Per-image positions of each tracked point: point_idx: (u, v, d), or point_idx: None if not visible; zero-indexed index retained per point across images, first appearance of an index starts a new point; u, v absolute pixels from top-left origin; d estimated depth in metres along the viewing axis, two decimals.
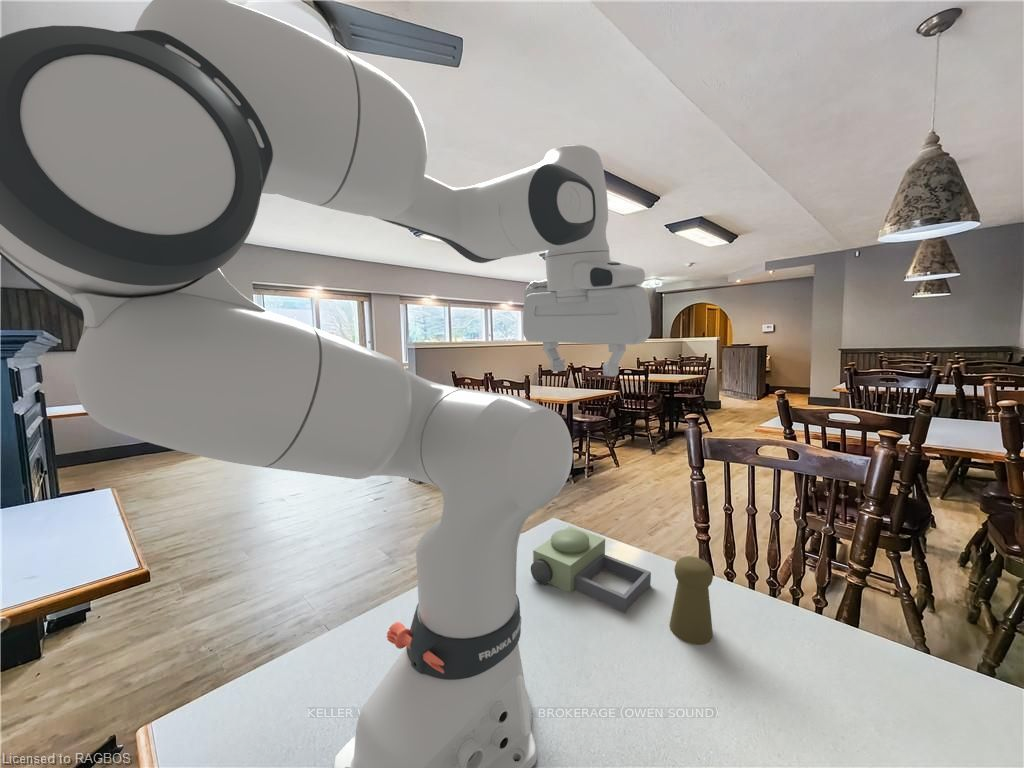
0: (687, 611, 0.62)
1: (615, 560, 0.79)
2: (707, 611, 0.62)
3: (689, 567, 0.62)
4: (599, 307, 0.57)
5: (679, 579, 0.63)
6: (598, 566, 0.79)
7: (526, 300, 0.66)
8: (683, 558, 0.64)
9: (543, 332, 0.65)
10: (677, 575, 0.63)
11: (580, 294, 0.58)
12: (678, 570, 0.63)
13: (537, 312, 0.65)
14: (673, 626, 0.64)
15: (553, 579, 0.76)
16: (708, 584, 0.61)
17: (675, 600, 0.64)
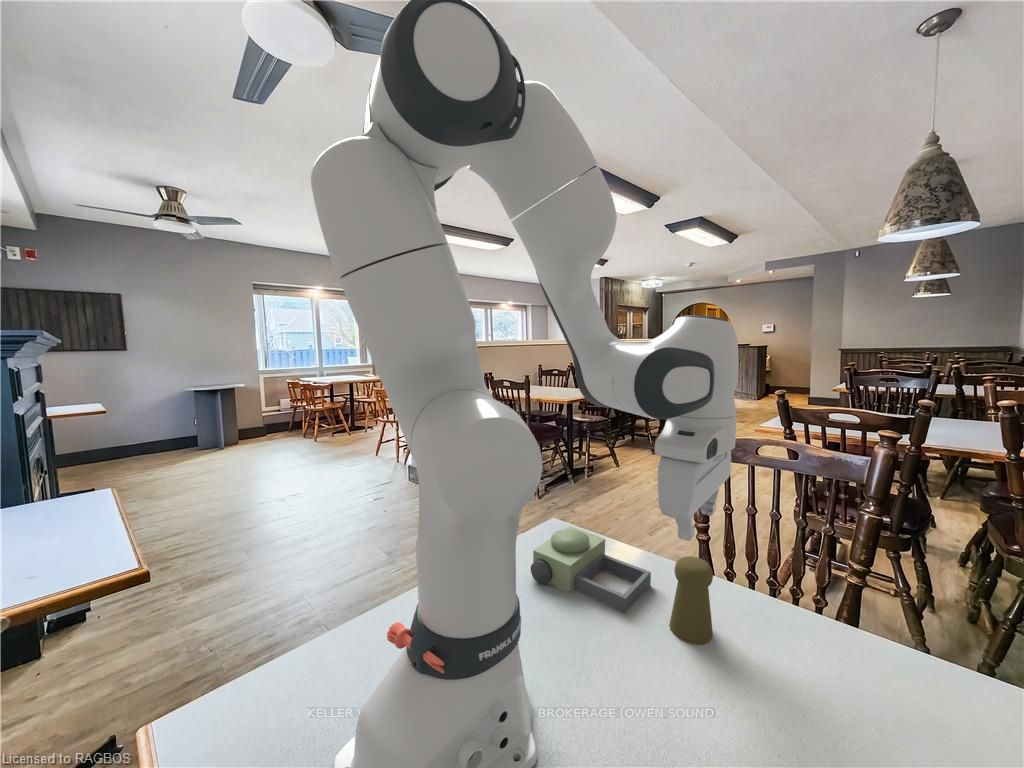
0: (687, 611, 0.62)
1: (615, 560, 0.79)
2: (707, 611, 0.62)
3: (689, 567, 0.62)
4: None
5: (679, 579, 0.63)
6: (598, 566, 0.79)
7: None
8: (683, 558, 0.64)
9: None
10: (677, 575, 0.63)
11: None
12: (678, 570, 0.63)
13: None
14: (673, 626, 0.64)
15: (553, 579, 0.76)
16: (708, 584, 0.61)
17: (675, 600, 0.64)
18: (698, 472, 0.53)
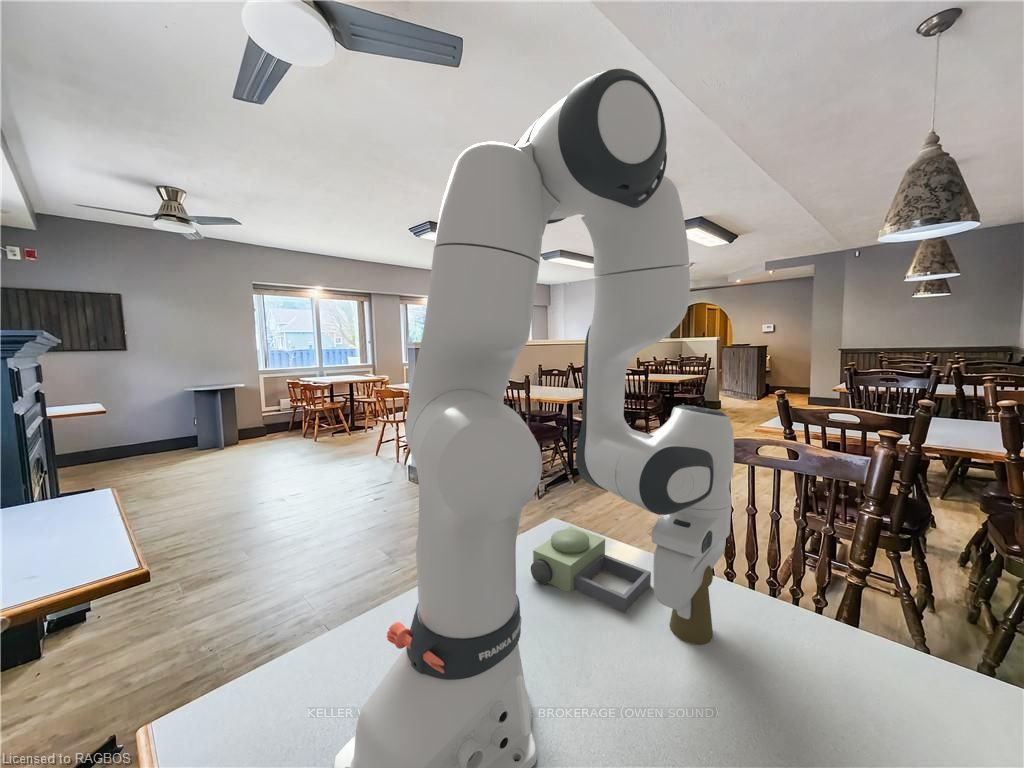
0: None
1: (615, 560, 0.79)
2: (708, 611, 0.62)
3: None
4: None
5: None
6: (598, 566, 0.79)
7: None
8: None
9: None
10: None
11: None
12: None
13: None
14: (673, 626, 0.64)
15: (553, 579, 0.76)
16: (708, 584, 0.61)
17: None
18: (693, 566, 0.55)
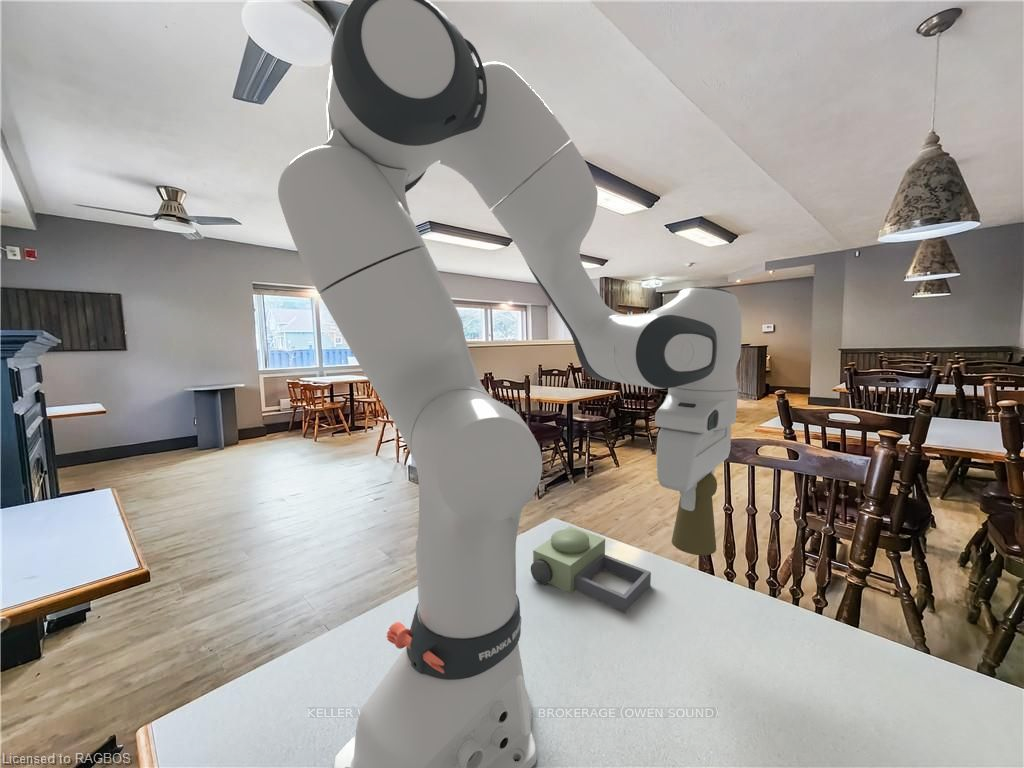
0: (691, 521, 0.60)
1: (615, 560, 0.79)
2: (712, 521, 0.60)
3: None
4: None
5: None
6: (598, 566, 0.79)
7: None
8: None
9: None
10: None
11: None
12: None
13: None
14: (676, 540, 0.62)
15: (553, 579, 0.76)
16: (713, 492, 0.59)
17: (678, 513, 0.62)
18: (698, 442, 0.52)
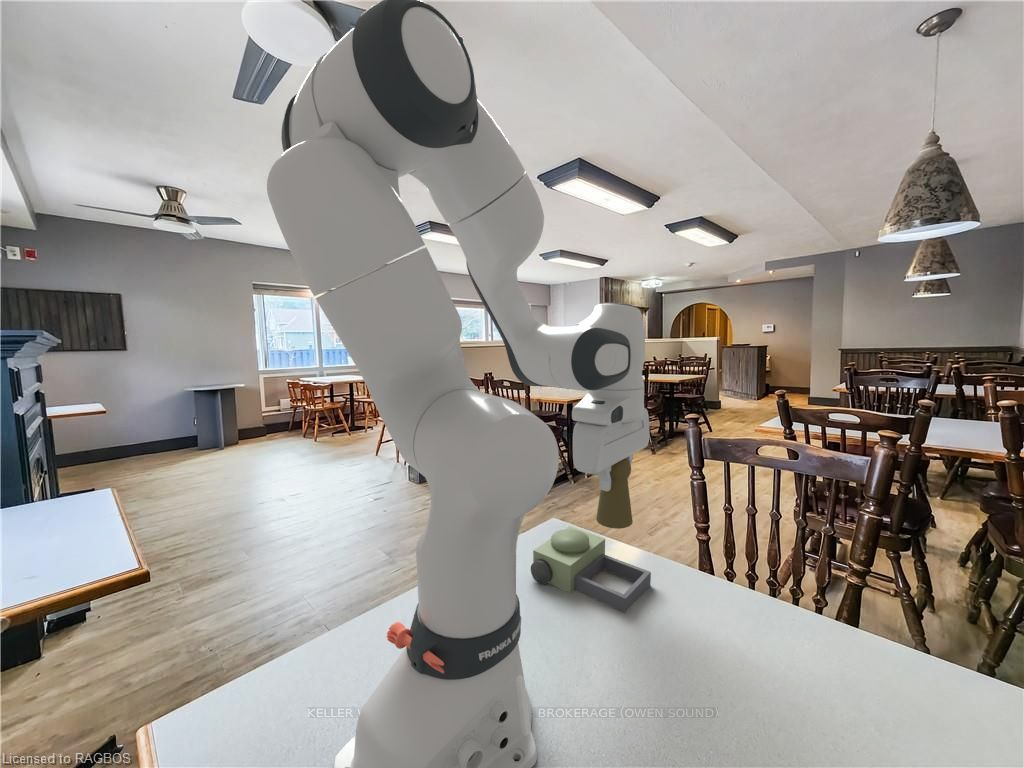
0: (609, 500, 0.71)
1: (615, 560, 0.79)
2: (627, 500, 0.71)
3: None
4: None
5: None
6: (598, 566, 0.79)
7: None
8: None
9: None
10: None
11: None
12: None
13: None
14: (598, 516, 0.73)
15: (553, 579, 0.76)
16: (626, 475, 0.70)
17: (600, 494, 0.73)
18: (603, 433, 0.63)
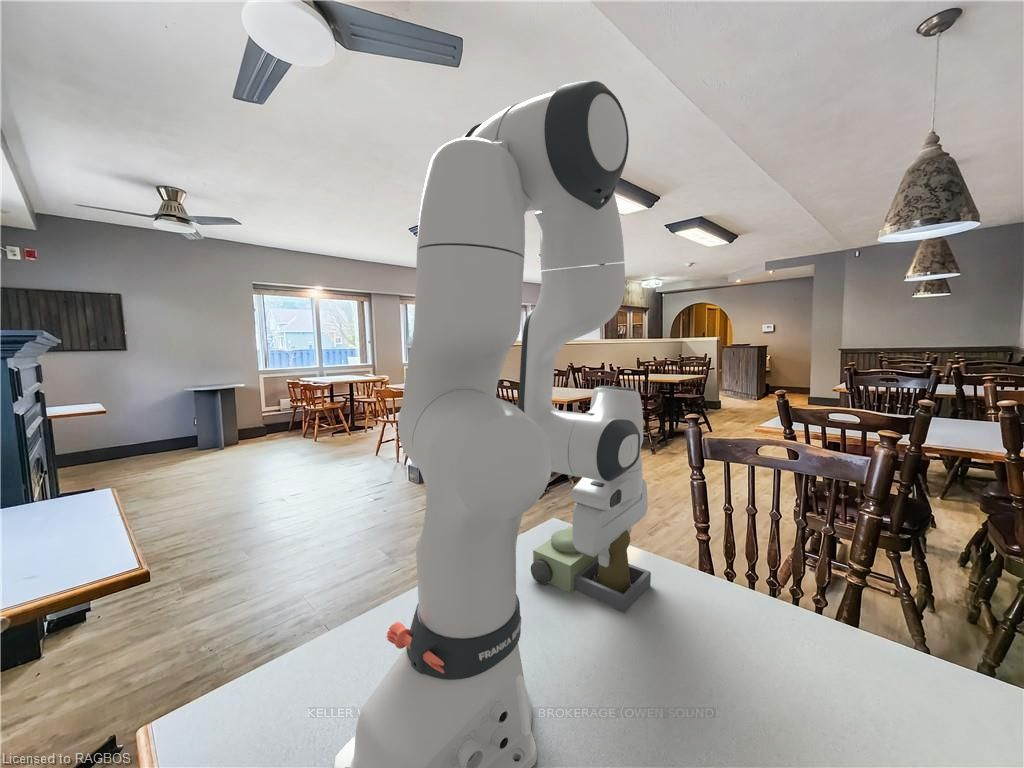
0: (608, 570, 0.73)
1: None
2: (626, 570, 0.73)
3: None
4: None
5: None
6: (598, 566, 0.79)
7: None
8: None
9: None
10: None
11: None
12: None
13: None
14: None
15: (553, 579, 0.76)
16: (625, 546, 0.72)
17: None
18: (602, 518, 0.65)
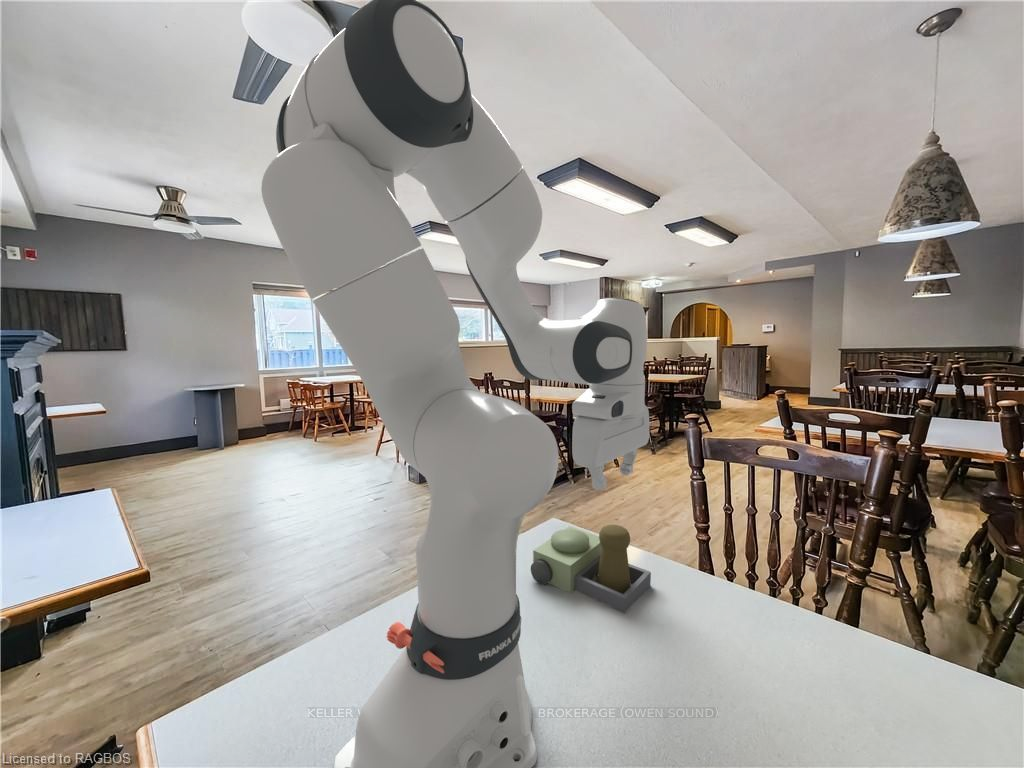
0: (608, 570, 0.73)
1: None
2: (626, 570, 0.73)
3: (609, 533, 0.72)
4: None
5: (602, 543, 0.73)
6: (598, 566, 0.79)
7: None
8: (606, 526, 0.75)
9: None
10: (600, 540, 0.73)
11: None
12: (601, 535, 0.73)
13: None
14: None
15: (553, 579, 0.76)
16: (625, 546, 0.72)
17: (600, 562, 0.75)
18: (603, 427, 0.63)
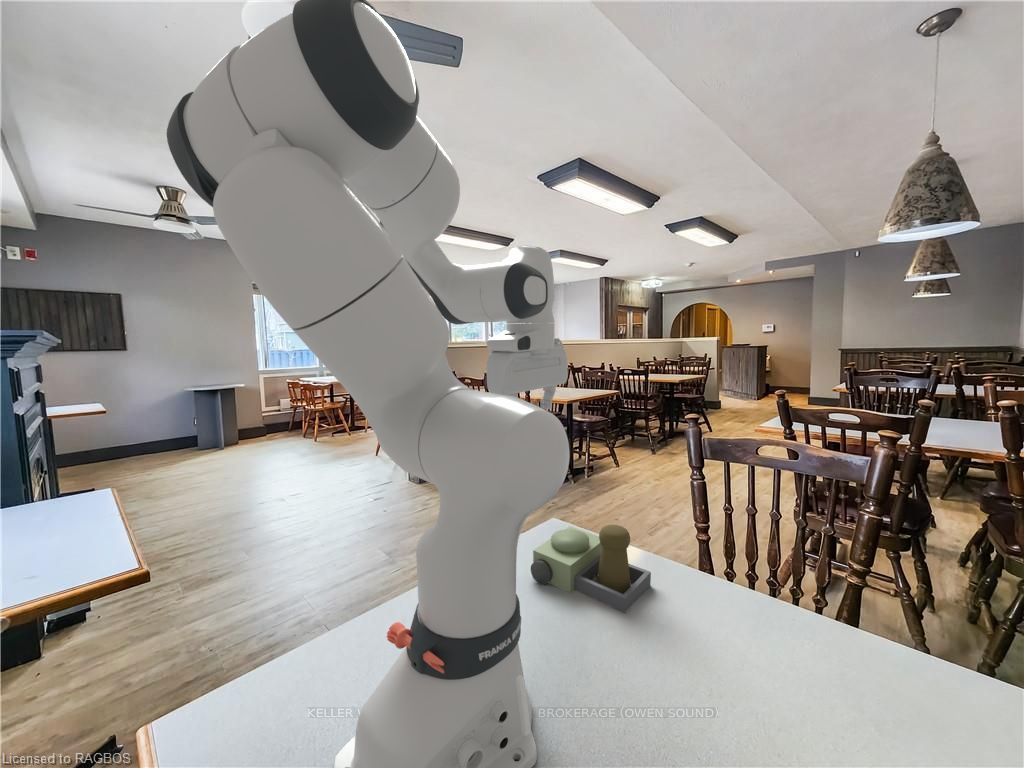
0: (608, 570, 0.73)
1: None
2: (626, 570, 0.73)
3: (609, 533, 0.72)
4: None
5: (602, 543, 0.73)
6: (598, 566, 0.79)
7: None
8: (606, 526, 0.75)
9: None
10: (600, 540, 0.73)
11: None
12: (601, 535, 0.73)
13: None
14: None
15: (553, 579, 0.76)
16: (625, 546, 0.72)
17: (600, 562, 0.75)
18: (511, 358, 0.72)
